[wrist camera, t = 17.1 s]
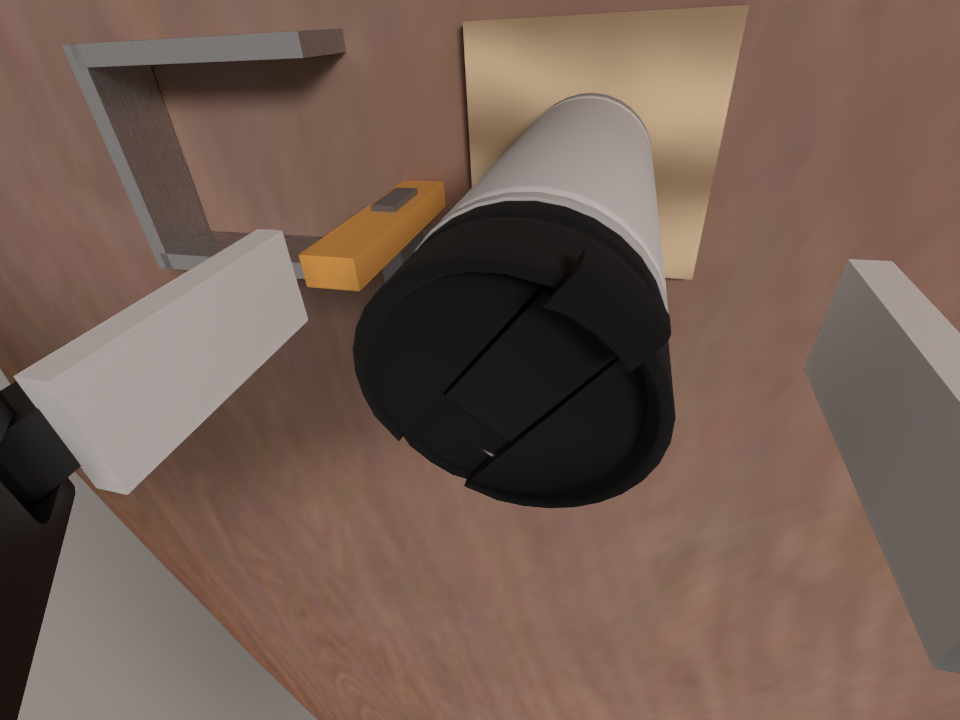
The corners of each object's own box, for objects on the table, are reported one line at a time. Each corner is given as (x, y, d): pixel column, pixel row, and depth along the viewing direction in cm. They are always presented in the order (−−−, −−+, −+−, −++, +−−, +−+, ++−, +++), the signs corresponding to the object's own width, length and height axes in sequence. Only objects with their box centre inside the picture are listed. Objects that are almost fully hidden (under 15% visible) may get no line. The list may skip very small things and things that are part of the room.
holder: (127, 41, 28) (61, 45, 25) (341, 28, 25) (297, 31, 22) (203, 244, 35) (159, 267, 32) (380, 255, 32) (350, 282, 28)
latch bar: (403, 174, 28) (296, 247, 20) (443, 175, 28) (351, 250, 19) (427, 363, 36) (358, 477, 27) (460, 367, 35) (399, 484, 26)
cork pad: (466, 21, 23) (462, 21, 23) (747, 4, 20) (749, 4, 20) (479, 261, 30) (476, 265, 30) (691, 274, 27) (692, 279, 27)
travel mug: (686, 144, 23) (794, 425, 7) (590, 247, 27) (524, 578, 11) (584, 53, 22) (451, 149, 6) (499, 173, 26) (285, 420, 10)
